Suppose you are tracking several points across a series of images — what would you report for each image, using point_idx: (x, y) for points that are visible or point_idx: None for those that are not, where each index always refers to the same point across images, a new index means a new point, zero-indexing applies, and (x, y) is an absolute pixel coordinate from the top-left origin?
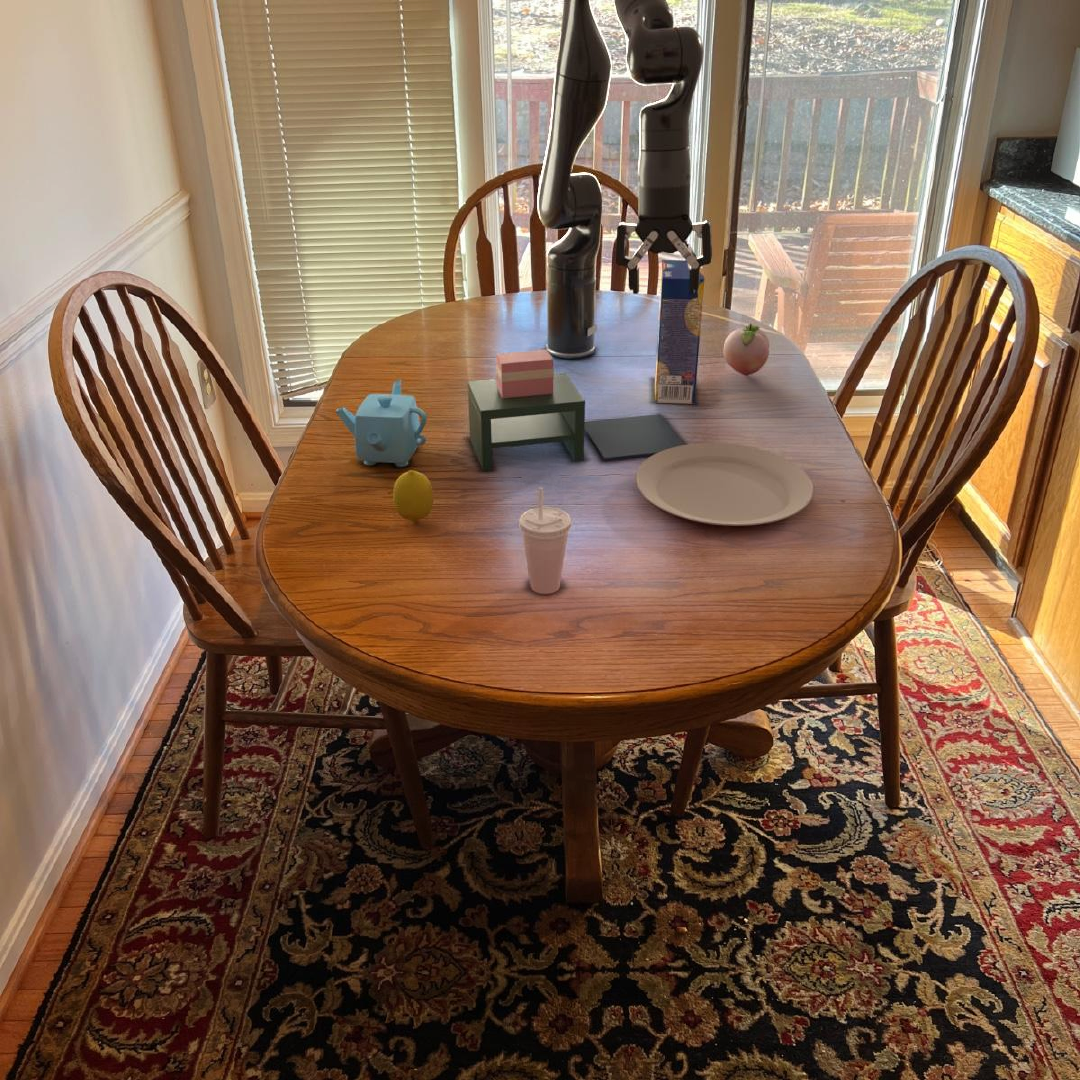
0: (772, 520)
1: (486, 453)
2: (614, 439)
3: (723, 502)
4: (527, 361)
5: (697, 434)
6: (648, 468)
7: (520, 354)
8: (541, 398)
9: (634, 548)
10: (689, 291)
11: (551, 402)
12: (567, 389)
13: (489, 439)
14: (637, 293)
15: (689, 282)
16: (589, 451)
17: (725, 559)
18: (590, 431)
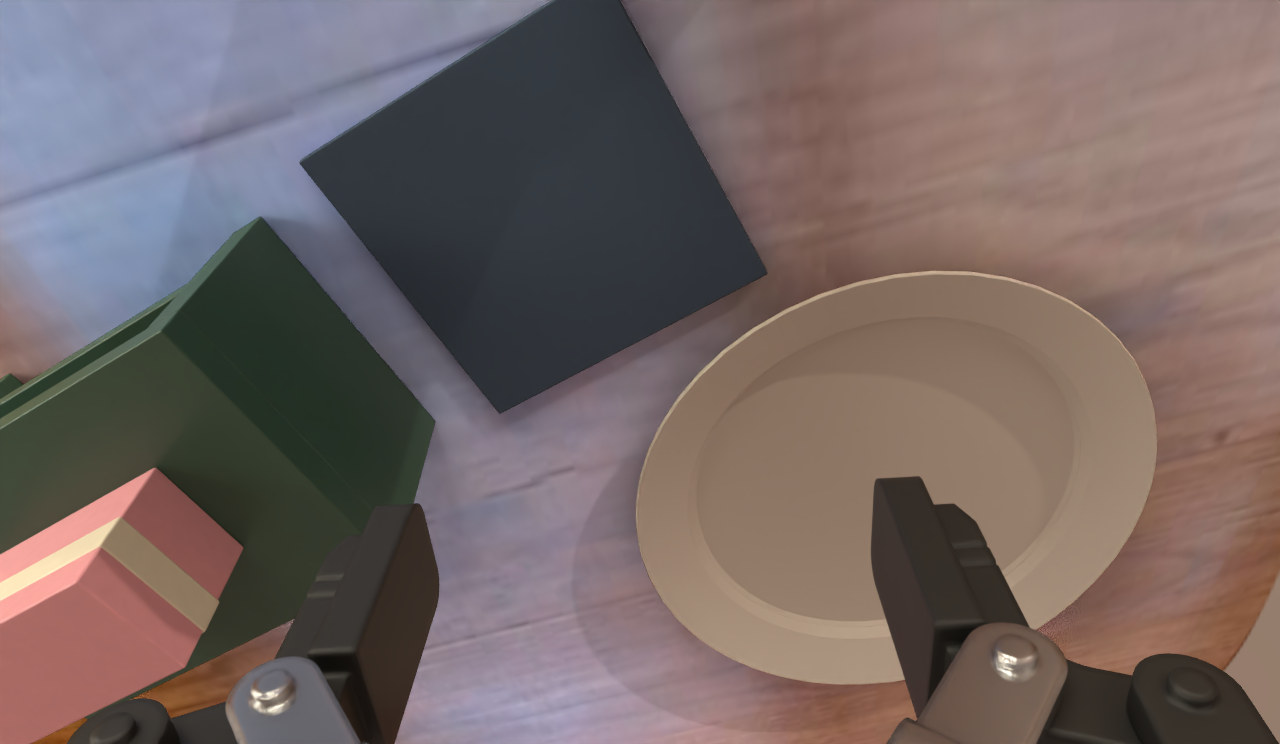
0: None
1: None
2: (486, 277)
3: None
4: (91, 712)
5: (784, 109)
6: (662, 483)
7: (3, 662)
8: (224, 591)
9: (694, 730)
10: (876, 581)
11: (281, 611)
12: (277, 499)
13: None
14: (438, 586)
15: (894, 642)
16: (428, 358)
17: (888, 716)
18: (373, 236)
